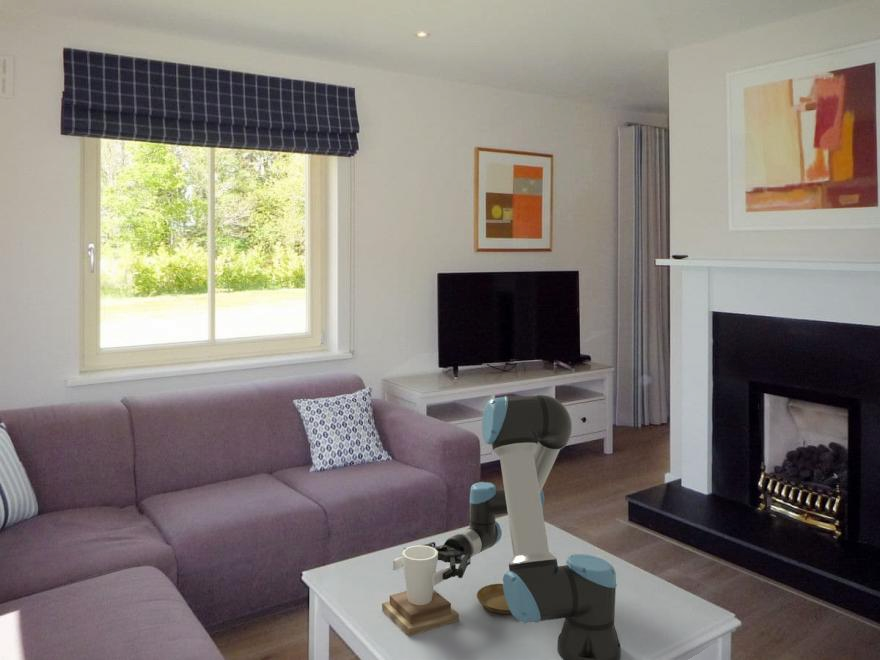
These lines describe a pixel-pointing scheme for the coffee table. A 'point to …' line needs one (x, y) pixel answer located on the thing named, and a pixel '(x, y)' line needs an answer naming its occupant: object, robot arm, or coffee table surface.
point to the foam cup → (419, 572)
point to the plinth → (421, 624)
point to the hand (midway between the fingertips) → (413, 572)
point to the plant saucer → (493, 598)
